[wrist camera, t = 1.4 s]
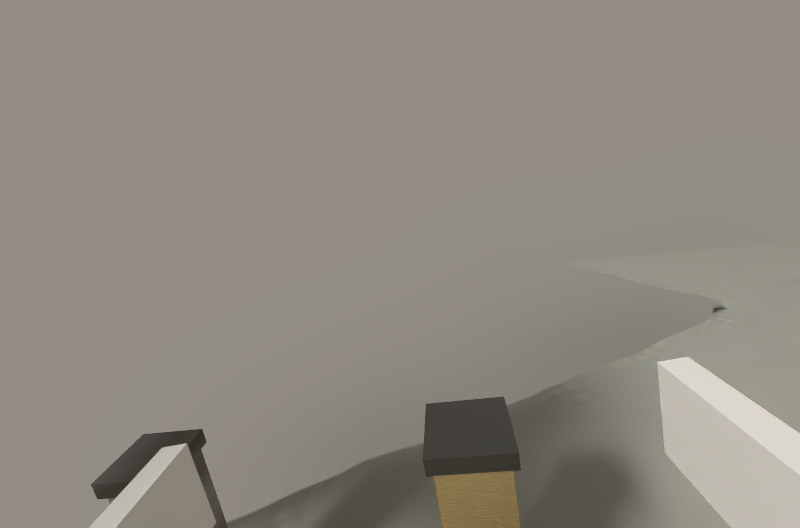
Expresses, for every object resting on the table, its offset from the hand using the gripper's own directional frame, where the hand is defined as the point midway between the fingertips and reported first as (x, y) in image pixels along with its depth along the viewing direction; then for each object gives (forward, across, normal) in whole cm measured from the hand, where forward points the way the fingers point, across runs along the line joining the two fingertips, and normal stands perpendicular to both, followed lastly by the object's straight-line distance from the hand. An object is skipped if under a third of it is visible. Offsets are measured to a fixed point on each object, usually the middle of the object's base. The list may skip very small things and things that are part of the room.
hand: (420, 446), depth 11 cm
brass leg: (+10, +1, -20) cm, 23 cm away
